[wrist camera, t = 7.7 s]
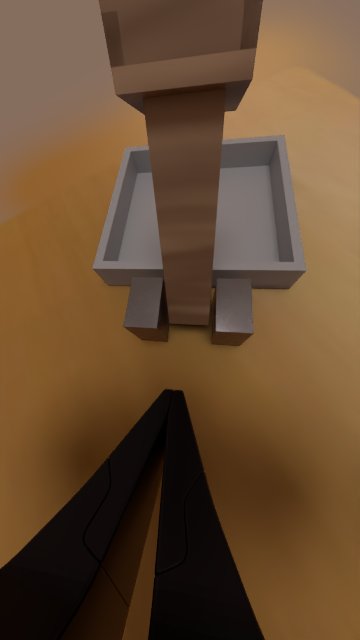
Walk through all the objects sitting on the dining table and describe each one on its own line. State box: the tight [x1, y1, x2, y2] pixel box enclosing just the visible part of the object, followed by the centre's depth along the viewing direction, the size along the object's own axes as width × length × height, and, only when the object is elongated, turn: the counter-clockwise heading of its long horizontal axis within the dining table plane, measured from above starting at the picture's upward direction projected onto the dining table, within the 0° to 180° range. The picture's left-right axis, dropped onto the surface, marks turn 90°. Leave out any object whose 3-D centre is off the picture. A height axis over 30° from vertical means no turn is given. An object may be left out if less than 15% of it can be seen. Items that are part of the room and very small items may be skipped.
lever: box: [99, 0, 263, 325], centre depth 12 cm, size 5×5×15 cm
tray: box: [93, 135, 306, 289], centre depth 19 cm, size 17×18×3 cm
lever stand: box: [123, 277, 253, 346], centre depth 15 cm, size 4×9×4 cm, turn 86°
